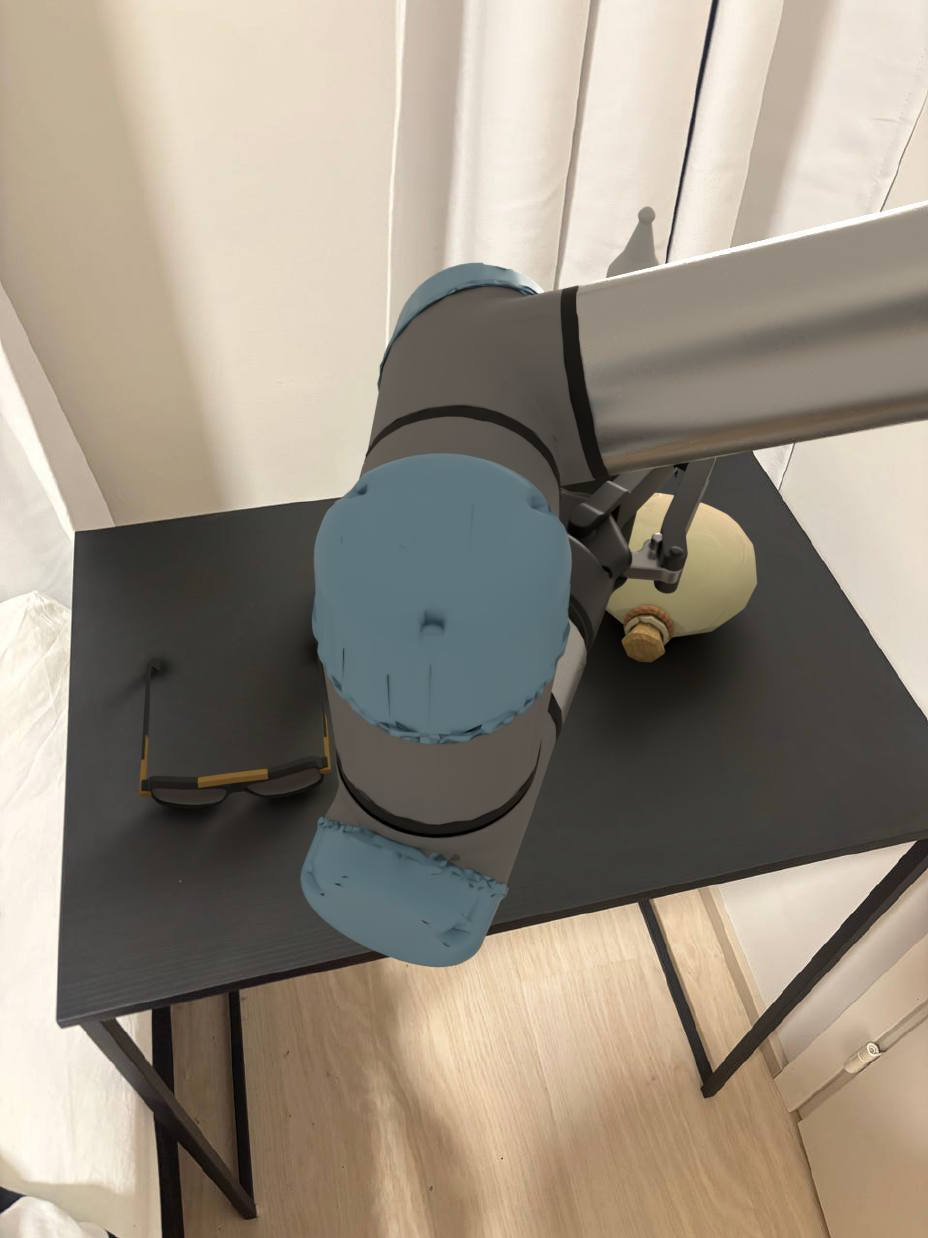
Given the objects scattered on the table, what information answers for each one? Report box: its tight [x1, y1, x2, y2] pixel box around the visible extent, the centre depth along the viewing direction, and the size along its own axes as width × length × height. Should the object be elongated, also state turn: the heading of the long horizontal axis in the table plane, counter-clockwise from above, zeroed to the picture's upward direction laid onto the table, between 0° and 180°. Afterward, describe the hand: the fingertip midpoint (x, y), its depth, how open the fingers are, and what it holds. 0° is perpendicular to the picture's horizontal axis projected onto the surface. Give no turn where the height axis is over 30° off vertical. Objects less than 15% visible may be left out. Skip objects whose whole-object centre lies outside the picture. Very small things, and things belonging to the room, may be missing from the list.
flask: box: [605, 492, 758, 663], centre depth 81 cm, size 9×16×18 cm
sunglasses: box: [138, 639, 332, 810], centre depth 73 cm, size 14×15×5 cm
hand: (630, 359), depth 57 cm, fingers closed on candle, 6 cm apart
